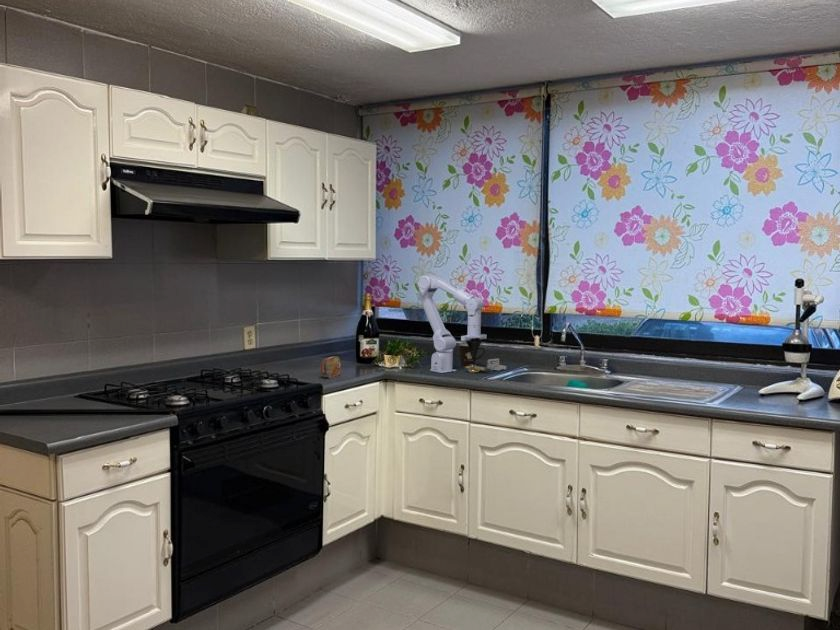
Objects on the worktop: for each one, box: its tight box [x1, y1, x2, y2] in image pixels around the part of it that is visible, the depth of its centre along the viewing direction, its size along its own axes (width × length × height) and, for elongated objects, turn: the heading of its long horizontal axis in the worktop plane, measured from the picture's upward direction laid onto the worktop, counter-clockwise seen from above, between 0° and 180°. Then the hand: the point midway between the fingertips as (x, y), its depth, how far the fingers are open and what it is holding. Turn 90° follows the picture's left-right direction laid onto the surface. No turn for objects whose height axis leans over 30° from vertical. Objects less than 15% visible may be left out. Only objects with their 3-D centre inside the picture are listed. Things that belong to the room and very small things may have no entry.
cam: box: [464, 363, 489, 373], centre depth 337 cm, size 11×6×3 cm, turn 44°
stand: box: [486, 358, 507, 371], centre depth 348 cm, size 8×5×4 cm, turn 134°
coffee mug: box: [458, 343, 486, 367], centre depth 356 cm, size 12×9×10 cm
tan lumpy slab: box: [321, 355, 342, 379], centre depth 319 cm, size 15×3×8 cm, turn 161°
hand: (473, 356), depth 331 cm, fingers closed
